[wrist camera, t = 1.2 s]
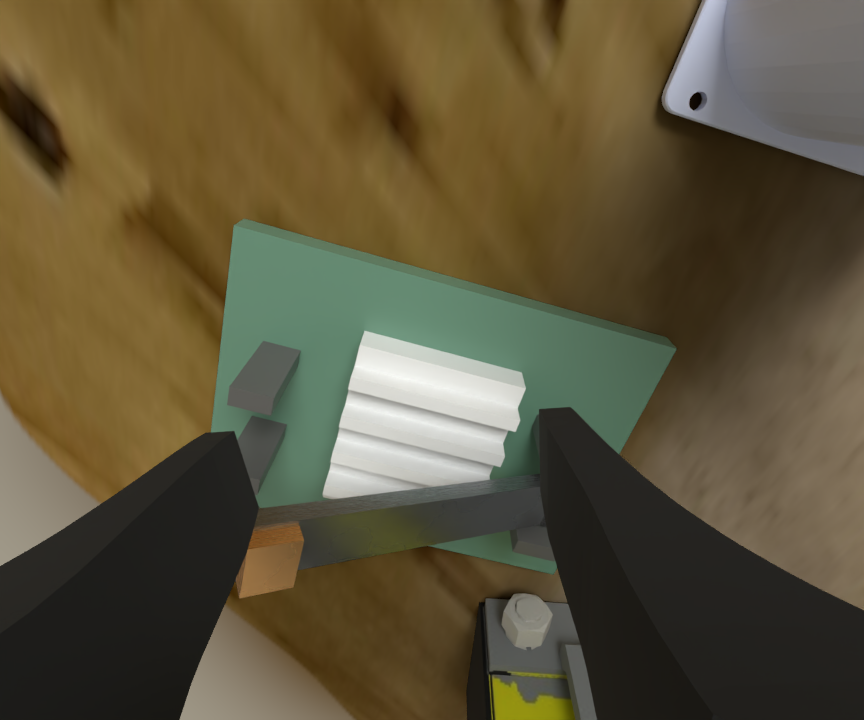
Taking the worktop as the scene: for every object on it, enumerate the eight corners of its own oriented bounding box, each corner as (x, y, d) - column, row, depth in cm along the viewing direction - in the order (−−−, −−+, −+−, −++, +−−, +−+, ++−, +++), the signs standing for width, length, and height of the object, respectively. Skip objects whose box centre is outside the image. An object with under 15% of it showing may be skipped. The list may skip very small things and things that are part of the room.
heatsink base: (666, 337, 20) (719, 397, 16) (549, 557, 26) (567, 642, 22) (244, 218, 19) (189, 253, 15) (213, 479, 24) (166, 556, 20)
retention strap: (563, 467, 20) (587, 493, 19) (544, 507, 21) (565, 533, 20) (239, 506, 14) (248, 546, 13) (231, 559, 15) (239, 600, 14)
